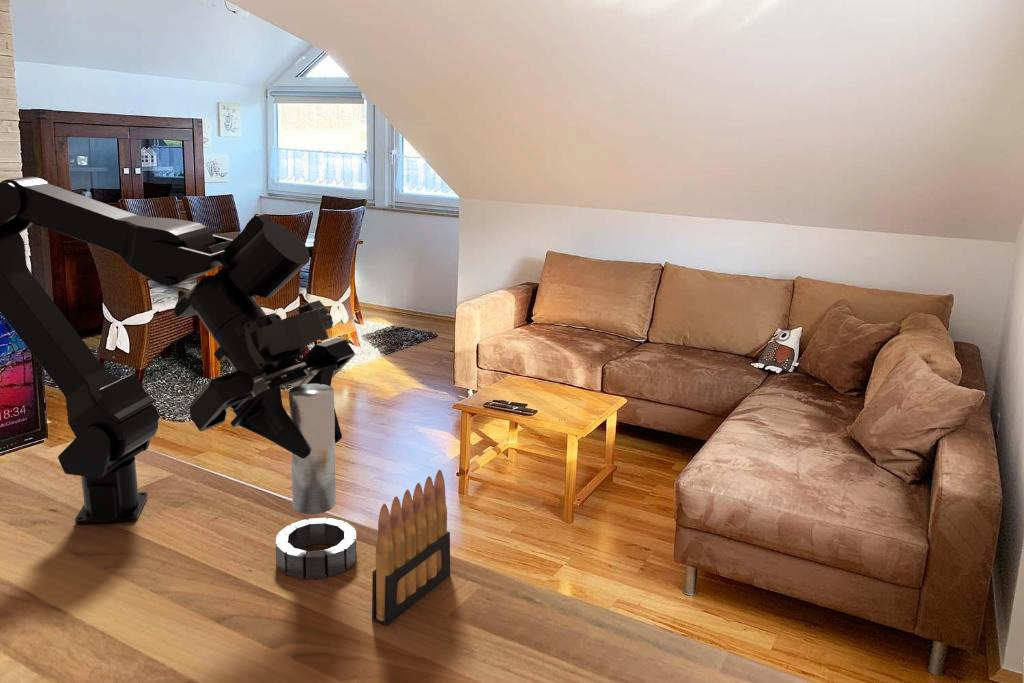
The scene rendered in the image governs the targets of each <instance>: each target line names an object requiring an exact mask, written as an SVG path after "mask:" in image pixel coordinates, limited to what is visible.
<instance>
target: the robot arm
mask: <svg viewBox="0 0 1024 683" xmlns="http://www.w3.org/2000/svg"><path fill="white" fill-rule="evenodd" d="M33 224H34V225H37V226H40V227H43V228H45V229H48V230H50V231H53V232H57V233H59V234H61V235H64V236H67V237H70V238H72V239H75V240H78V241H80V242H84V243H86V244H88V245H92V246H94V247H97V248H100V249H102V250H104V251H105V250H106V251H108V252H111V253H113V254H114V255H116V256H118V257H120V258H121V259H122V260H123V261H124V262H125V263H126V265H128V267H129V269H131V270H133V271H134V272H136V273H137V274H139V275H141V276H143V277H145V278H147V279H149V280H150V281H152V282H153V283H155V284H157V285H160V286H164V287H171V286H175V285H179V284H181V283H184V282H187V281H190V280H192V279H196V278H199V277H201V276H203V277H202V278H200V280H199V281H197V283H196V284H195V285H194V286H193V287H192V288H190V289H184V290H183V289H182V290H179V291H178V293H177V296H178V297H177V301H176V303H175V306H174V311H173V313H174V316H175V317H178V318H179V317H180V318H181V317H189V316H190V317H191V316H198V319H200V321H201V322H202V324H203V325H204V327H205V328H206V330H207V331H208V333H209V335H210V336H211V337H212V338H213V340H214V341H215V343H216V345H217V346H218V348H217V349H216V350H215V351H214V353H213V356H214V357H215V359H217V361H218V362H223V361H225V360H227V361H228V363H230V365H231V366H232V368H233V370H234V371H232V372H230V373H227V374H223V375H220V376H218V377H214V378H211V379H210V380H209V381H208V383H207V384H206V385H205V386H204V387H203V388H202V389H201V391H200V392H198V394H197V395H196V397H194V399H192V400H191V402H190V405H189V417H190V420H192V422H193V424H194V425H195V426H196V428H197V430H198V431H199V432H201V433H202V432H205V431H207V430H210V429H212V428H214V427H215V428H216V427H217V426H220V425H222V424H223V423H224V422H225V421H226V416H227V410H226V409H228V408H231V409H233V410H232V411H233V413H234V415H235V417H234V418H233V420H232V419H231V421H230V426H231V427H232V428H236V427H242V428H243V429H246V430H248V431H250V432H252V433H255V434H256V435H258V436H261V437H262V438H265V439H267V440H268V441H270V442H272V443H274V444H276V445H278V446H280V447H282V449H284V450H287V451H288V452H290V454H291V453H293V454H295V455H297V456H298V457H300V458H302V459H304V458H306V457H307V456H308V455H310V450H309V448H308V446H307V444H306V442H305V440H304V439H303V437H302V435H301V434H300V432H299V431H298V429H297V428H296V426H295V425H294V423H293V421H292V420H291V418H290V414H288V412H287V411H286V409H285V407H284V405H283V399H282V390H281V388H284V387H286V386H289V385H291V386H292V388H293V387H295V386H299V385H303V384H324V385H328V386H330V387H332V382H333V381H332V380H333V377H335V376H336V375H337V374H338V373H339V372H340V370H342V369H343V368H344V367H345V366H346V364H348V363H349V362H350V361H351V359H353V358H354V357H355V356H356V353H355V351H354V350H353V348H352V347H351V345H350V344H349V343H348V341H347V340H346V339H344V338H339V337H334V338H331V339H329V338H330V337H329V335H328V332H327V331H328V330H330V329H332V328H333V325H334V321H333V317H332V315H331V312H330V311H329V310H328V309H327V307H326V306H325V305H324V304H323V303H322V301H321V300H320V299H319V300H314V301H312V302H308V303H307V304H304V305H300V306H299V307H298V313H297V314H295V315H292V316H291V315H290V316H289V317H285V318H282V317H281V316H280V315H279V314H276V313H275V312H274V313H270V314H266V313H265V311H264V310H263V307H261V306H260V304H259V303H258V301H257V299H256V298H255V297H260V298H265V299H266V298H267V299H269V298H271V297H274V295H276V294H277V293H278V292H279V291H280V290H281V289H282V288H283V287H284V286H285V285H286V284H287V283H288V282H289V281H291V279H292V278H294V277H295V276H296V274H298V272H299V271H301V270H302V269H303V268H304V267H305V266H306V265H307V264H308V263H309V262H310V258H311V257H310V256H311V255H310V252H309V249H308V247H307V245H306V243H305V242H304V241H303V240H302V238H301V237H300V235H299V234H298V233H296V232H292V231H291V229H289V228H288V227H286V226H285V225H283V224H281V223H279V222H277V221H274V220H272V219H271V218H270V216H269V215H268V214H267V213H265V212H264V213H260V214H256V215H254V216H252V218H250V220H248V222H247V223H246V225H244V226H245V227H244V228H243V229H242V230H241V232H239V234H238V235H236V237H235V238H233V239H231V238H229V237H228V238H227V237H224V236H220V235H217V234H213V231H212V230H211V229H210V228H209V227H208V226H206V225H205V224H203V223H200V222H198V221H197V222H196V221H190V220H184V219H178V218H173V217H172V218H170V217H154V216H145V215H139V214H135V213H133V212H130V211H127V210H125V209H121V208H118V207H116V206H112V205H109V204H106V203H105V202H101V201H99V200H96V199H94V198H90V197H87V196H84V195H83V194H82V195H81V194H78V193H76V192H73V191H71V190H68V189H64V188H62V187H60V186H56V185H53V184H51V183H49V182H48V181H46V180H44V179H43V178H40V177H38V176H25V177H15V178H9V179H3V180H1V181H0V314H1V316H3V318H4V319H5V320H6V322H7V323H8V325H9V326H10V327H11V328H12V330H13V332H15V333H16V335H17V336H18V338H19V339H20V340H21V341H22V342H23V344H24V345H25V347H26V348H27V349H28V351H30V353H31V355H33V357H34V358H35V359H36V361H37V362H38V363H39V365H40V366H41V367H42V369H43V370H44V371H45V372H46V374H47V375H48V376H49V378H51V381H53V382H54V384H55V385H56V386H57V388H58V389H59V390H60V392H61V393H62V394H63V396H64V398H65V404H66V405H65V406H66V414H67V423H68V426H69V428H70V429H71V432H72V433H73V435H74V437H75V438H74V439H73V441H71V442H70V444H68V445H67V446H66V448H64V449H63V451H61V452H60V453H59V455H58V456H57V459H58V461H59V464H60V466H61V468H62V470H63V473H64V474H65V475H72V476H78V477H79V476H80V477H81V486H82V488H81V489H82V495H83V496H82V497H83V505H82V507H81V509H80V511H79V512H78V513H77V515H76V516H75V518H74V522H75V524H77V525H84V524H105V523H120V522H121V523H122V522H123V523H125V522H134V521H136V520H138V518H139V516H140V514H141V512H142V510H143V507H144V506H145V504H146V501H147V499H148V496H149V495H148V492H146V491H145V492H143V491H139V488H138V476H137V468H136V467H137V466H136V456H137V455H139V454H140V453H142V452H145V451H146V450H148V449H149V446H150V442H151V440H152V438H154V436H155V435H156V434H157V431H158V429H159V420H160V415H159V412H158V410H157V408H156V407H155V405H154V403H156V401H157V400H156V398H154V397H152V396H151V395H150V394H149V393H148V392H147V391H146V390H145V388H144V387H143V385H142V383H141V381H140V380H139V378H138V377H137V376H136V375H134V374H133V373H131V374H128V375H126V376H124V377H122V378H121V377H119V376H117V375H115V374H113V373H110V372H109V371H108V370H107V369H105V368H104V366H103V364H102V363H101V362H100V361H99V360H98V358H97V357H96V356H95V354H94V353H93V352H92V350H91V349H90V348H89V346H88V345H87V344H86V343H85V341H84V340H83V339H82V337H81V336H80V335H79V333H78V332H77V331H76V330H75V328H74V326H73V325H72V323H70V322H69V321H68V319H67V318H66V317H65V315H64V313H62V311H61V310H60V308H59V307H58V306H57V305H56V304H55V302H54V301H53V300H52V298H51V296H50V295H49V294H48V292H46V289H44V288H43V286H42V285H41V284H40V282H39V281H38V279H36V277H35V276H34V274H33V273H32V272H31V270H30V269H29V267H28V266H27V256H26V246H25V245H26V244H25V243H26V242H25V240H24V239H23V237H22V234H21V233H22V232H24V231H26V230H27V229H28V228H30V227H32V226H33ZM222 266H223V267H222ZM218 267H221V268H220V270H219V271H218V272H216V273H215V274H214V275H213V274H209V275H206V274H208V273H210V272H211V271H212V270H213V269H216V268H218ZM327 339H328V340H327ZM319 340H320V341H322V342H319V343H317V344H315V345H313V347H312V348H311V349H310V350H309V351H308V352H307V353H306V354H305V355H304V357H302V359H300V360H299V361H298V360H297V358H298V357H301V356H303V354H304V353H305V352H306V351H307V350H308V349H307V347H306V346H309V345H310V343H314V342H317V341H319ZM324 340H326V341H324ZM334 416H335V444H337V443H339V442H340V441H341V440H342V439H343V436H342V435H343V434H342V430H341V428H340V424H339V420H338V415H337V412H336V409H335V407H334Z"/></svg>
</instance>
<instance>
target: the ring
mask: <svg viewBox="0 0 1024 683" xmlns="http://www.w3.org/2000/svg"><path fill="white" fill-rule="evenodd" d="M310 545H330V546H331V547H330V548H329V547H328V548H326V549H322V550H309V551H308V550H304V549H301V548H304V547H308V546H310ZM275 560H276V567H277V568H278V569H279V570H280V571H282V573H284V575H287V576H288V577H293V578H297V579H302V580H304V579H306V580H318V579H326V577H327V578H331V577H334V576H336V575H339V574H342V573H344V572H345V571H347V570H349V569H350V568H351V567H352V566H353V565H354V564H355V563H357V562H356V561H357V530H356V528H354V526H352V525H351V524H350V523H348V522H347V521H344V520H339V519H336V518H330V517H328V518H327V517H318V518H314V517H313V518H308V519H306V518H305V519H302V520H300V521H297V522H293V523H290V525H287V526H285V527H284V528H283V529H281V530H280V531H278V533H277V534H276V538H275Z"/></svg>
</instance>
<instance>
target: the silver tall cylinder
mask: <svg viewBox="0 0 1024 683" xmlns="http://www.w3.org/2000/svg"><path fill="white" fill-rule="evenodd" d="M288 400H289V401H288V402H289V417H290V418H291V420H292V421H293V423H294V425H295V426H296V428H297V429H298V431H299V432H300V434H301V435H302V437H303V439H304V440H305V442H306V444H307V446H308V448H309V450H310V455H308V456H307V457H306V458H304V459H302V458H300V457H298V456H297V455H295V454H293V453H291V452H290V462H291V463H290V464H291V465H290V466H291V494H292V501H291V502H292V508H293V510H294V511H296V512H298V513H301V514H306V515H318V514H324V513H326V512H330V511H331V510H332V509H334V508H335V506H336V504H337V493H336V492H337V491H336V490H337V486H336V485H337V484H336V482H337V481H336V478H337V477H336V443H335V416H334V408H335V389H334V388H333V387H332V386H331V387H330V386H328V385H324V384H303V385H299V386H295V387H293V386H292V387H291V388H290V389H289V390H288Z"/></svg>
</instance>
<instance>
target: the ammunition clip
mask: <svg viewBox="0 0 1024 683" xmlns="http://www.w3.org/2000/svg"><path fill="white" fill-rule="evenodd" d="M434 478H435V479H434V482H433V479H432V477H431V476H430V475H428V476H427V478H426V481H425V483H424V487H422V485H421V483H420V482H417V483H416V485H415V487H414V491H413V494H411V492H410V490H409V489H406V490H405V491H404V493H403V497H402V502H401V501H400V499H399V497H398V496H394V497H393V500H392V503H391V507H390V510H389V507H388V506H387V504H386V503H383V504H382V506H381V508H380V511H379V515H378V521H377V539H376V540H377V541H376V544H375V569H374V570H373V571H372V578H371V579H372V582H371V584H372V585H371V586H372V587H371V588H372V590H371V592H372V593H371V602H372V603H371V620H372V621H374V622H377V623H380V624H381V625H384V626H390V625H391V624H393V623H394V621H397V619H399V618H400V617H401V616H402V615H403V614H405V613H406V612H407V611H408V610H409V609H411V608H412V607H413V606H414V605H416V604H417V603H419V601H420V600H422V599H423V598H425V597H426V596H427V595H428V594H429V593H430V592H432V591H433V590H434V589H435V588H437V587H438V586H439V585H441V584H442V583H443V582H444V581H445V580H447V578H450V576H451V532H450V531H448V507H447V500H446V498H447V497H446V483H445V478H444V474H443V471H442V469H438V470H437V472H436V475H435V477H434Z"/></svg>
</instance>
